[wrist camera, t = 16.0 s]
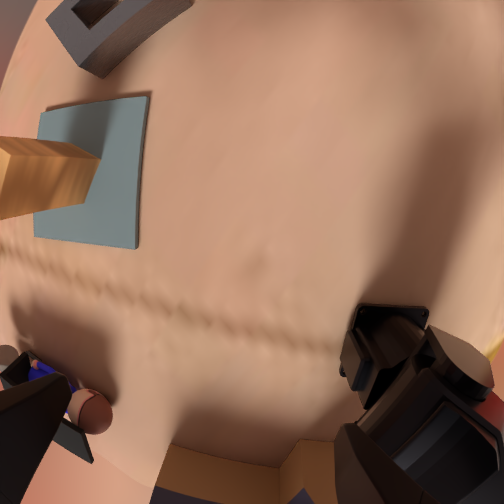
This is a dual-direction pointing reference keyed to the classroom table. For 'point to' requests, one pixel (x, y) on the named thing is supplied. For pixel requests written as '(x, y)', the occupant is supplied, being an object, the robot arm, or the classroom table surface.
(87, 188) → the peg
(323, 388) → the classroom table surface
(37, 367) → the figurine character
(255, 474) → the toy building blocks
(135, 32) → the socket block
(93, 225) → the pad
